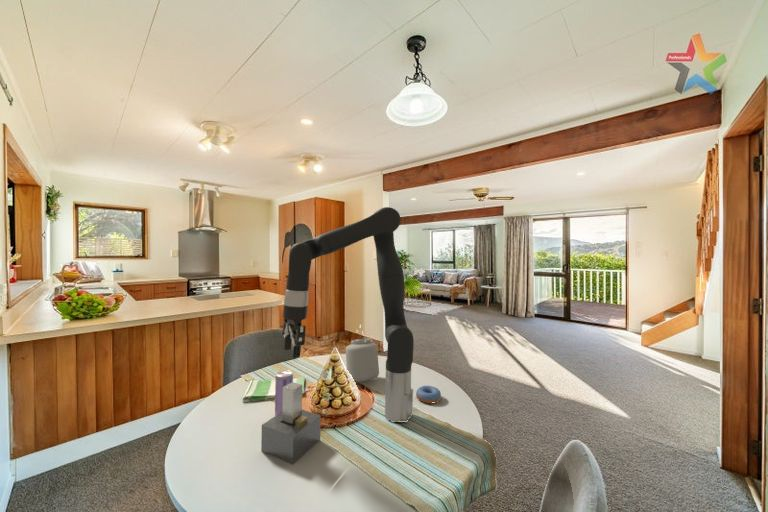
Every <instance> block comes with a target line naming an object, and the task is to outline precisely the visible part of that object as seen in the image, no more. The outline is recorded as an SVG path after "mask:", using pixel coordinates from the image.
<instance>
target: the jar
mask: <svg viewBox="0 0 768 512" xmlns="http://www.w3.org/2000/svg"><path fill="white" fill-rule="evenodd" d="M361 326H362V324H360V325H359V328H360V329H361ZM356 332H358V330H357V329H356ZM361 332H362V333H361V334H362V335H364V333H363V332H364V331H361ZM350 343H351V344H348V345H347V346H346V348H345V358H346V360H345V361H346V371H347V370H348V371H349V373H350V374H351V375H352V377H353V379H354V380H355V381H356V383H359V382H361V383H362V382H368V381H372V380H375V379H377V378H378V377H379V375H380V367H379V354H378V346H377V343H375V342H373V341H371V338H359V339H352V340H350ZM355 381H354V382H355Z"/></svg>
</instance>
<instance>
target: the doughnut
mask: <svg viewBox="0 0 768 512" xmlns="http://www.w3.org/2000/svg"><path fill="white" fill-rule="evenodd" d="M415 397H416V398H417V400H418V399H419V400H418V401H420V402H421V401H423V402H426V403H425V404H428V403H432V402H436V403H437V401H438V402H440V400H441V399H442V398H441V397H442V394H441V391H440V390H439V389H438V388H437V387H435V386H431V385H421V386H419V387H418V388H417V389H416V395H415ZM423 402H422V403H423ZM432 404H433V403H432Z"/></svg>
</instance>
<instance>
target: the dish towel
mask: <svg viewBox="0 0 768 512" xmlns="http://www.w3.org/2000/svg"><path fill="white" fill-rule="evenodd" d="M305 379H306V378H305V376H304V377H303V376H302V377H297V378H294V377H293V382H294V383H298V384H302V394H305V393H306V392H305ZM271 400H272V401H273V400H274V401H275V379H270V380H269V379H265V380H264V379H263V380H262V379H261V380H255V379H252V380H250V382H249V384H248V386H247V387H246V390H245V393H244V394H243V397H242V403H252V402H253V403H254V402H261V401H271Z"/></svg>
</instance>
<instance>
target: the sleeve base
mask: <svg viewBox="0 0 768 512" xmlns="http://www.w3.org/2000/svg"><path fill="white" fill-rule="evenodd" d="M321 417H322V416H321V414H317V413H314V412H311V411H308V410H304V409H302V416H301V417H299V418H298V419H297V420H295V425H294V426H290V425H287V424H284V423H282V412H281V413H280V414H278V415H277V416H275V415H274V416H273V417H272V418H271V419H268V420H267V421H266V422H264V423H262V424H261V444H260V445H261V447H260V449H261V450H260V451H261V452H262V453H264V454H266V455H268V456H271V457H274V458H277V459H279V460H280V461H283V462H285V463H289V464H290V465H292V466H293V465H294V464H295V463H296V462H298V461H299V460H300V459H301V458H302V457H304V455H306V453H308V452H309V451H310V450H312V449H313V448H314V447H315V445H316V444H318V443H319V442H321V421H322V420H321Z"/></svg>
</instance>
